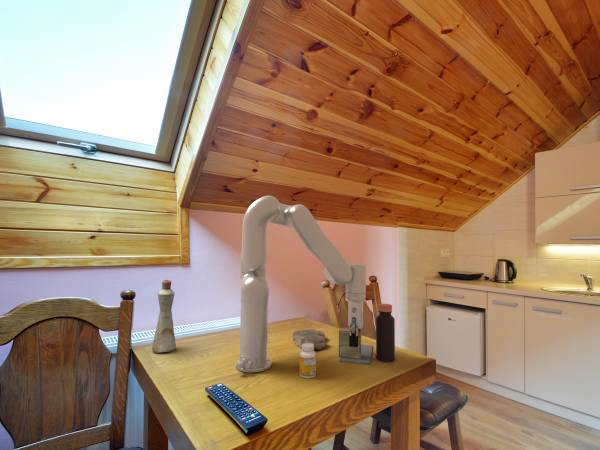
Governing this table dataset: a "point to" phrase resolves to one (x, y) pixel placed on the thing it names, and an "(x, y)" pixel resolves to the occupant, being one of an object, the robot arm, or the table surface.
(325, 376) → the table surface
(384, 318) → the vinegar
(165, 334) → the bottle
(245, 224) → the robot arm
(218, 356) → the table surface
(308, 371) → the supplement bottle
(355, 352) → the slab
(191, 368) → the table surface
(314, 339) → the grey rock
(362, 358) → the mat
